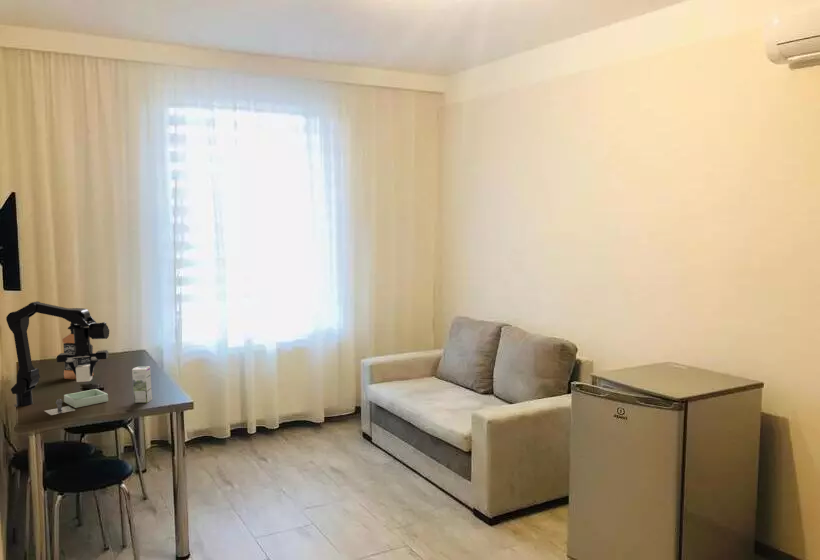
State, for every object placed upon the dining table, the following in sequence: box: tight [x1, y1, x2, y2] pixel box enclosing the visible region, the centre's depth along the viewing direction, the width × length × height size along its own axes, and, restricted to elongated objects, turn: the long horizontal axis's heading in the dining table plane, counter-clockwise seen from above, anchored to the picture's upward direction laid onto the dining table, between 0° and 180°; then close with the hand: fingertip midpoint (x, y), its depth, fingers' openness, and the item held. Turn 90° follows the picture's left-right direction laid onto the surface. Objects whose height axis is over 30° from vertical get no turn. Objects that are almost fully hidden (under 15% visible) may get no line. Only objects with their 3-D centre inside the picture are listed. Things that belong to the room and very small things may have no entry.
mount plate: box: [44, 398, 76, 416], centre depth 264 cm, size 9×9×6 cm
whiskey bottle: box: [61, 322, 95, 380], centre depth 326 cm, size 10×10×32 cm
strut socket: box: [75, 364, 93, 383], centre depth 276 cm, size 5×5×6 cm
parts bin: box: [63, 388, 109, 409], centre depth 277 cm, size 13×13×4 cm
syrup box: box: [131, 365, 153, 404], centre depth 278 cm, size 6×6×14 cm
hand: (84, 376), depth 276 cm, fingers closed on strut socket, 5 cm apart
